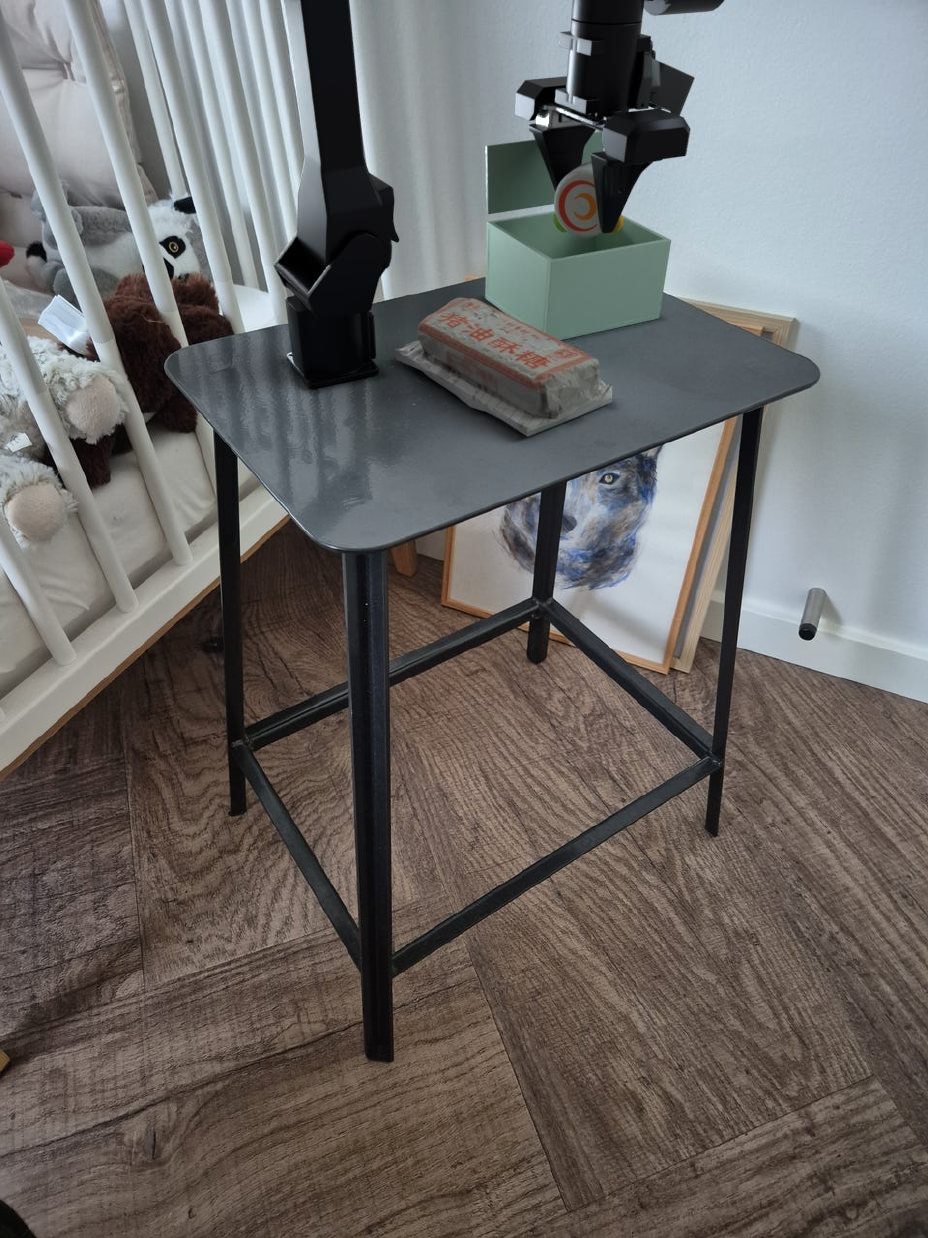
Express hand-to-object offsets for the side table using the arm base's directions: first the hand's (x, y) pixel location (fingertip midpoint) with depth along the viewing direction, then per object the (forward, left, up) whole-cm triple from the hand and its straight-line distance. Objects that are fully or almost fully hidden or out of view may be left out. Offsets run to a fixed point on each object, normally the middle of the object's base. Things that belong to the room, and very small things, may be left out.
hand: (586, 221), depth 82 cm
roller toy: (0, 0, -1) cm, 1 cm away
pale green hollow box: (0, +1, -9) cm, 9 cm away
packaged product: (-14, -10, -9) cm, 19 cm away
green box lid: (0, +8, +2) cm, 8 cm away
